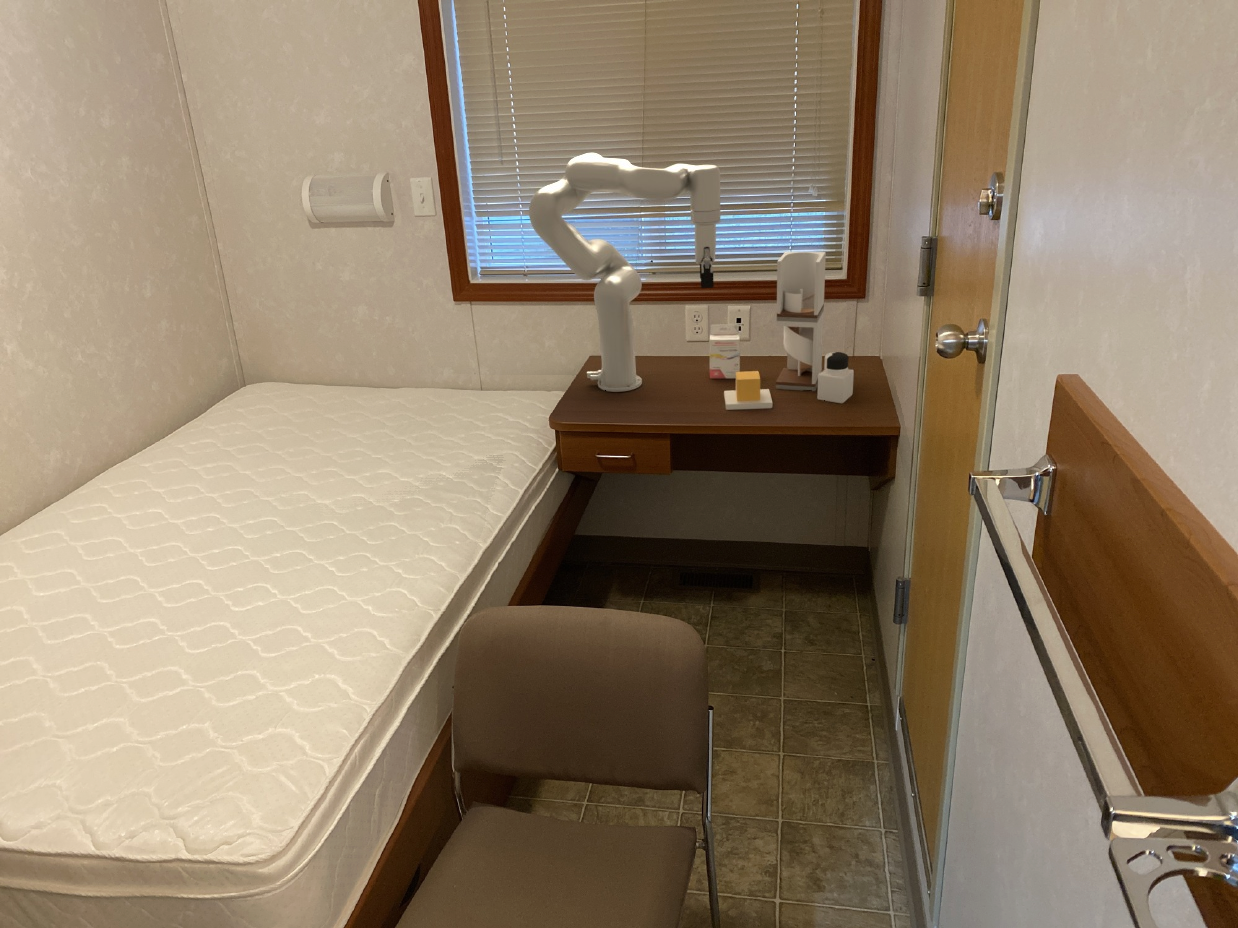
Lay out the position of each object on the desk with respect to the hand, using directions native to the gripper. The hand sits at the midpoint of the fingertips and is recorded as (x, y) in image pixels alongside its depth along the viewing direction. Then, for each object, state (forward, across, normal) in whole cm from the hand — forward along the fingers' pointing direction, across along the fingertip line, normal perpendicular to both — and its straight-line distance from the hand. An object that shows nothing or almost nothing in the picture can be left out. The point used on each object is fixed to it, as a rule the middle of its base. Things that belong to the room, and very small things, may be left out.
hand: (706, 283), depth 238 cm
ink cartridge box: (+30, -12, +5) cm, 33 cm away
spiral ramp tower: (+30, -4, +25) cm, 40 cm away
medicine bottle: (+30, +8, +33) cm, 46 cm away
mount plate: (+30, +9, +10) cm, 33 cm away
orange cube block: (+29, +9, +10) cm, 32 cm away
